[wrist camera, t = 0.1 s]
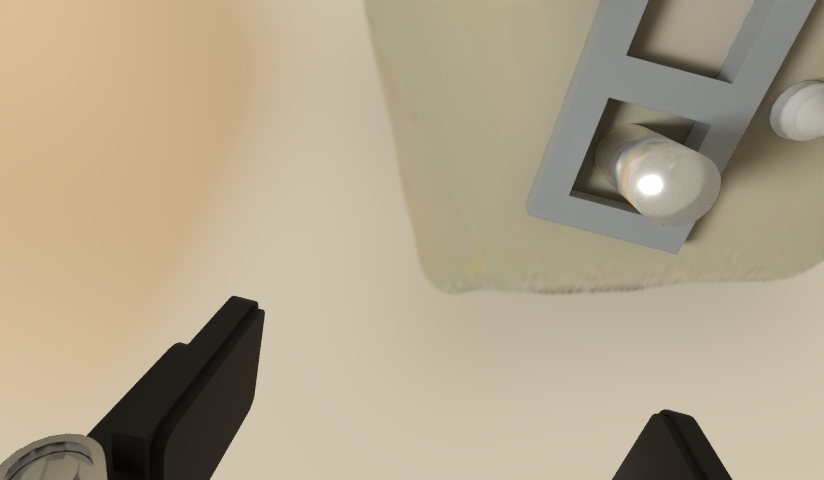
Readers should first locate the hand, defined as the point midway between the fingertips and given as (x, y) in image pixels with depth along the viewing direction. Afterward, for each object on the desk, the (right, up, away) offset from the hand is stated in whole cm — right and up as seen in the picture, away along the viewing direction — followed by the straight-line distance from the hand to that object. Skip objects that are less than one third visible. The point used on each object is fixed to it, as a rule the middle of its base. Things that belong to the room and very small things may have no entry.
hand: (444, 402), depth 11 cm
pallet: (+18, +16, +25) cm, 35 cm away
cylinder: (+17, +11, +27) cm, 34 cm away
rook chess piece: (+29, +14, +25) cm, 41 cm away
